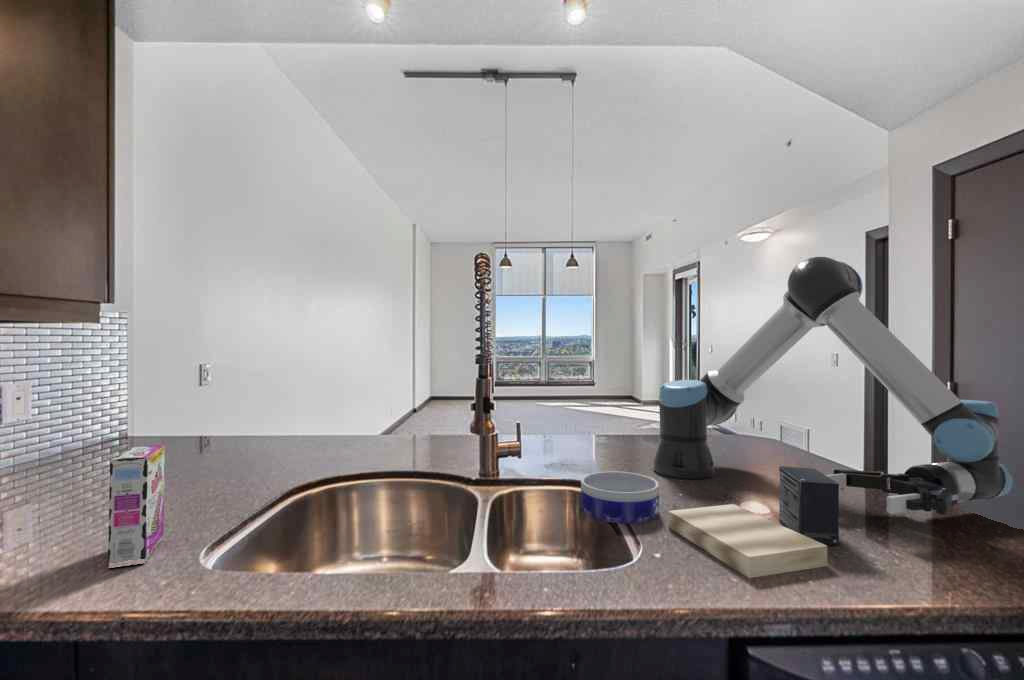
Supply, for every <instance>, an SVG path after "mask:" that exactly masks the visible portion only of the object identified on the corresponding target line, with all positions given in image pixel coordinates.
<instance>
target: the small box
mask: <svg viewBox="0 0 1024 680" xmlns="http://www.w3.org/2000/svg"><path fill="white" fill-rule="evenodd" d="M778 469H779V471H778V472H779V510H778V511H779V512H778V515H779V517H778V522H779V523H780V525H782V526H784V527H786V528H788V529H791V530H793V531H795V532H797V533H800V534H802V535H804V536H806V537H809V538H811V539H813V540H815V541H818V542H820V543H822V544H824V545H826V546H839V545H840V541H839V540H840V539H839V537H840V535H839V534H840V531H839V530H840V529H839V525H840V523H839V521H840V520H839V518H840V517H839V516H840V515H839V514H840V513H839V512H840V507H839V506H840V499H839V498H840V494H839V493H840V492H839V491H840V489H839V483H837V482H835V481H834V480H832V479H830V478H829V477H827V476H825V475H826V474H824V473H822V472H820V471H818V470H817V469H815V468H809V467H808V468H806V467H796V466H795V467H794V466H781V465H780V466H779V468H778Z"/></svg>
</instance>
